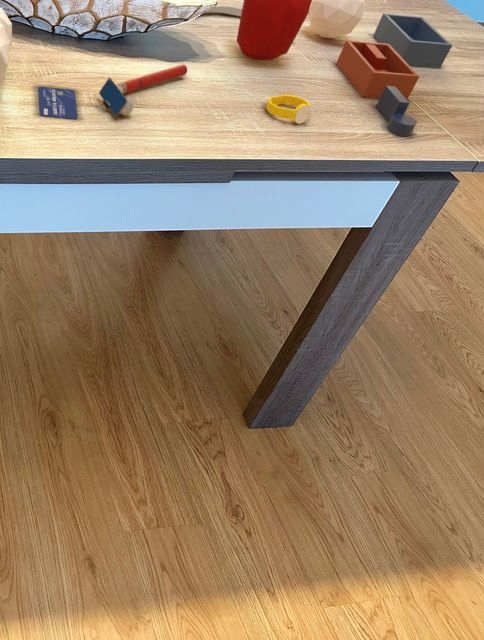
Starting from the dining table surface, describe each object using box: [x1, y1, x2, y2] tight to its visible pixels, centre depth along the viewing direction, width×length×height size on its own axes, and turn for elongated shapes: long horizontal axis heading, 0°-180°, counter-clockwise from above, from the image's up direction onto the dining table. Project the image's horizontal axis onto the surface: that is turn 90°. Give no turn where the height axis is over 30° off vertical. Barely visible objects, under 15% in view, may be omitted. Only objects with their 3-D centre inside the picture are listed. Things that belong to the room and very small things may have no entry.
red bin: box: [335, 39, 420, 100], centre depth 121 cm, size 12×8×4 cm, turn 4°
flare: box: [115, 64, 188, 95], centre depth 111 cm, size 2×15×2 cm
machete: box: [202, 6, 242, 17], centre depth 134 cm, size 26×2×5 cm
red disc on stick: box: [361, 44, 387, 72], centre depth 121 cm, size 9×4×4 cm, turn 3°
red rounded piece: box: [236, 0, 313, 61], centre depth 120 cm, size 11×10×14 cm
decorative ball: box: [307, 0, 366, 39], centre depth 131 cm, size 9×10×12 cm
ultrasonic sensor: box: [98, 76, 134, 118], centre depth 105 cm, size 6×2×3 cm, turn 21°
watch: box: [265, 93, 311, 125], centre depth 110 cm, size 6×3×6 cm
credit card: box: [37, 86, 79, 120], centre depth 105 cm, size 8×5×1 cm, turn 0°
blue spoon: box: [375, 86, 418, 137], centre depth 112 cm, size 9×4×4 cm, turn 4°
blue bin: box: [372, 13, 453, 69], centre depth 132 cm, size 12×8×4 cm, turn 4°
